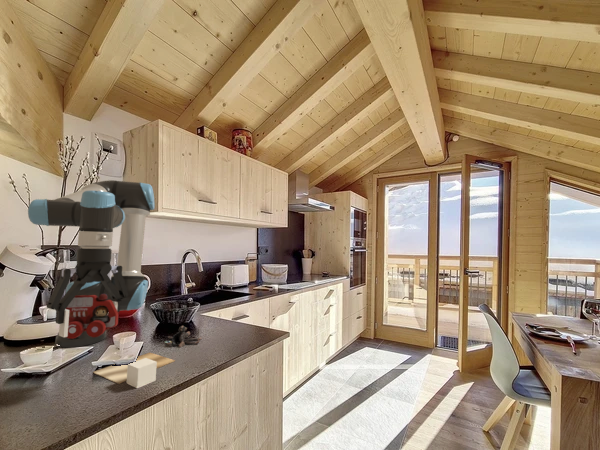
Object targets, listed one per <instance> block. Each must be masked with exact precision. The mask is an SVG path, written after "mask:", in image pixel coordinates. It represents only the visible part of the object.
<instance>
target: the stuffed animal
mask: <svg viewBox="0 0 600 450" xmlns="http://www.w3.org/2000/svg"><path fill="white" fill-rule="evenodd" d="M187 329H188V327H186V326H184V325H181V326H179V328H178V332H177V333H175V334H173V336H170V335H169V336H167V338H168V340H166V341H164V343H165V344H167V345H168V346H170V347H172V348H173V347H174V348H175V347H179V348H183V347H184V346H185V345H186V346H192V345H193V346H194V345H198V344H199V343H200V341H201V340H202V339H203V337H198V338H194V337H191V338H189V336H190V335H191V332H190V331H187ZM186 338H188V339H186Z"/></svg>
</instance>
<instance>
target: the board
mask: <svg viewBox="0 0 600 450" xmlns="http://www.w3.org/2000/svg"><path fill="white" fill-rule="evenodd" d="M137 357H138V358H137V360H136V361H138V360H141V359H144V358H148V359H151V360H153V361H156V362H157V367H156V370H158V369H159V368H162V367H164V366H167V365H170V364H172V363H174V362H175V361H176V360H175V359H171V358H169V357H165V356H162V355H159V354H156V353H153V352H147V353H144V354H142V355H138V356H137ZM127 368H128V365H121V366H112V365H108V366H105V367H103V368H100V369H97V370H95V371H92V373H93V374H95V375H97V376H99V377H102V378H105V379H107V380H109V381H111V382H113V383H115V384H118V385H120V384H123V383H125V382H127Z"/></svg>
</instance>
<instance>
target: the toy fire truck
mask: <svg viewBox="0 0 600 450" xmlns="http://www.w3.org/2000/svg"><path fill="white" fill-rule="evenodd" d="M107 298H108V297H107V295H106V294H101V295H100V296H99V298H98V296H96V295H77V296H75V297H74V298H73V300H72V301H71V302H70V304H69V305H68V306H67V308H66V309H68V310H69V323H68V336H67V338H70V339H73V338H76V337H78V336H80V335H81V334H82V333H83V331H86V332H87V334H88V335H89V336H91V337H98V336H100V335H101V334H103V333H104V331H105V330H106V331H107V330H109V329H111V328H115V327H117V325H118V324H119V312H118V311H117V309H116V307H115V305H114V303H113V302H112V300H107ZM98 306H100V307H98ZM97 307H98V308H97ZM96 308H97V309H96ZM95 310H96V311H95ZM95 314H96V316H97V317H94V316H95ZM93 317H94V320H93Z"/></svg>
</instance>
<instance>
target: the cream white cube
mask: <svg viewBox="0 0 600 450" xmlns="http://www.w3.org/2000/svg"><path fill="white" fill-rule="evenodd" d="M156 367H157V362H156V361H153V360H151V359H148V358H144V359H141V360H138V361H136V362H133V363H130V364H128V368H127V381H126V384H128V386H132V387H134V388H136V389H139V388H141V387H144V386H146V385H148V384H151V383H154V382H156V380H157V369H156Z"/></svg>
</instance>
